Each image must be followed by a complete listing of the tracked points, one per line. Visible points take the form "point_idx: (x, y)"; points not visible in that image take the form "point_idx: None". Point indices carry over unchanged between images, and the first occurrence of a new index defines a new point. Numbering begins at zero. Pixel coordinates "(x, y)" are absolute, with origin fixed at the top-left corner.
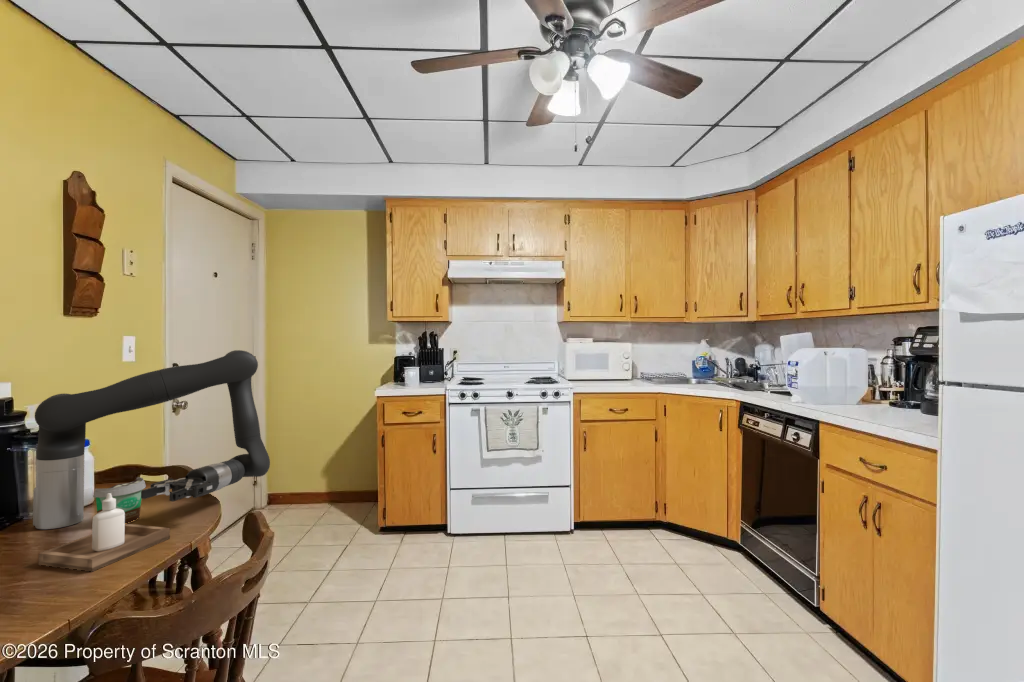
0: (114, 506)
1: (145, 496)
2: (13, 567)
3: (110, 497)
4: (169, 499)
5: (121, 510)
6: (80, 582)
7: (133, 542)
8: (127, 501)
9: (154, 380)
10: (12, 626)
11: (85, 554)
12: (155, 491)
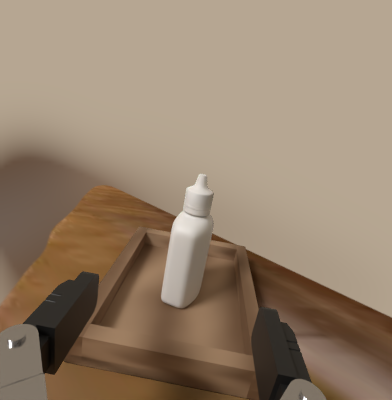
0: (184, 204)
1: (254, 338)
2: (267, 261)
3: (196, 182)
4: (96, 296)
5: (176, 223)
6: (129, 228)
7: (115, 262)
8: None
9: None
10: (127, 194)
11: None
12: (267, 388)
